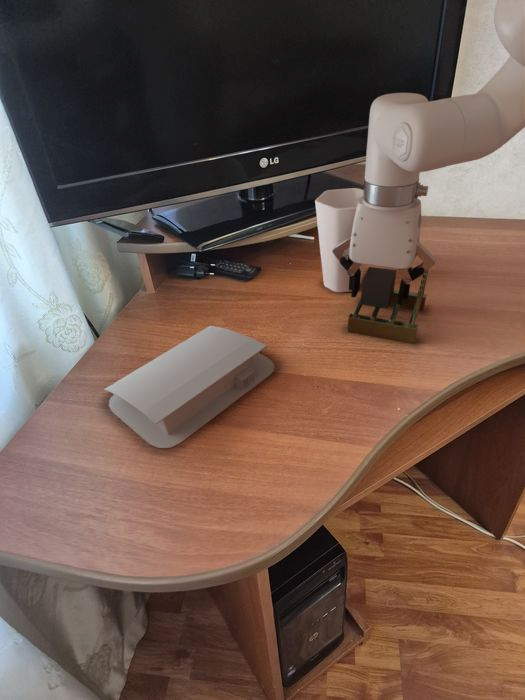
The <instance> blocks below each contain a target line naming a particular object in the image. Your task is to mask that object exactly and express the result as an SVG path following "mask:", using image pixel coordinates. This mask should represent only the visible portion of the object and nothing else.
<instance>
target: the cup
mask: <svg viewBox="0 0 525 700" xmlns="http://www.w3.org/2000/svg"><path fill="white" fill-rule="evenodd" d="M363 191H364V189H362V188H359V187H352V188H350V187H349V188H348V187H347V188H337V189H328V190H324V191H323V192H322V193H321V194H320V195H319V196H318V197H317V198H316V199H315V200H314V203H315V214H316V223H317V233H318V242H319V243H318V244H319V253H320V261H321V270H322V271H321V273H322V282H323V286H324V287H325V288H327V289H328V290H330V291H332V292H334V293H347V292H348V293H349V292H352V290H349V275H348V274H347V271H346V270H345V268H344V267H343V266H342V265H341V264H340V261H339V260H338V259H337V258H336V256H335V255H334V254H333V252H332V250H333V249H334V247H335V246H336V245H338V244H339V243H341V242H342V241H344V240H345V239H347V238H349V237H350V236H351V234H352V228H353V222H354V217H355V212H356V208H357V204H358V201H359V199H360V197H361V196H363ZM344 251H345V253H346V255H348V256H349V251H350V247H349V248H348V249H346V250H344ZM349 257H350V256H349ZM353 262H354V261H353ZM365 266H366V265H365V264H361V266H360V267H359V269H360V271H361V278H360V285H362V280H363V277H364V276H363V275H364V271H365Z"/></svg>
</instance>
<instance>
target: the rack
mask: <svg viewBox="0 0 525 700" xmlns="http://www.w3.org/2000/svg"><path fill="white" fill-rule="evenodd" d="M428 274H429V270H428V271H426V272H424V273H423V275H422V278H421V280H420V284H419V287H418V290H417V292H415V291H414V292H413V291H409V295H408V299H405V298H404V299H403V302H402V305H398V304H397V301H398V294H399V289H394V294H393V297H392V299H391V302H390V305H389V307H388V308H393V310H392V313H391V315H390V318H389V319H387V318H386V319H385V318H381V317H378V315H379V314H378V313H379V312H380V309H381V307H374V309H373V311H372V314H371V315H370V316H368V315H364V314H363V315H362V314H359V313H360V312H361V309H362V307H363V305H361V304H360V303H361V297H360V298H359V300H358V302H357V305H356V307H355V308H354V310H353V312H352V313H349V315H348V317H347V318H348V319H347V333H353V334H359V335H364V336H369V337H375V338H381V339H386V340H390V341H396V342H402V343H406V344H407V343H408V344H412V345H415V343H416V340H417V336H418V335H417V334H418V329H419V325H418V324H416V319H418V316H419V313H424V310H425V305H426V301H427V294H426V293H425V290H426V284H427V279H428ZM400 309H402V310H408V311H412V312H411V315H410V319H409V322H408V323H407V322H404V321H397V319H396V318H397V316H398V313H399V312H400V311H399V310H400Z"/></svg>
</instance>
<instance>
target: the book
mask: <svg viewBox="0 0 525 700" xmlns="http://www.w3.org/2000/svg"><path fill="white" fill-rule="evenodd" d="M267 347H268V345H267V344H265V343H263V342H262V341H259V340H257V339H255V338H252V337H250V336H248V335H245V334H242V333H240V332H238V331H234V330H232V329H229V328H225V327H221V326H214V325H209V326H207V327H205V328H204V329H202V330H200V331H199V332H197V333H195V334H194V335H191V336H190V337H188V338H187V339H185V340H184V341H182V342H180V343H178V344H177V345H175V346H174V347H172V348H170V349H169V350H167V351H165V352H163V353H162V354H160V355H158V356H157V357H155V358H153V359H152V360H150V361H148V362H147V363H145V364H143V365H142V366H140V367H138V368H137V369H135V370H134V371H132V372H130V373H129V374H127V375H125V376H123V377H122V378H120V379H119V380H117V381H115V382H113V383H112V384H110V385H108V386H107V387H105V388H104V391H105V392H109V393H111V394H112V396H111V397H110V398H109V402H108V404H107V405H108V408H109V409H110V411H111V412H112V413H113V414H114V415H115V416H116V417H117V418H118V419H119V420H121V421H122V422H123V423H125V425H126V426H128V427H129V429H130V430H132V431H133V432H135V433H136V434H137V435H138V436H139V437H140V438H141V439H143V440H144V441H145V442H146V443H147V444H149V445H151V446H152V447H154V448H156V449H171V448H173V447H175V446H178V445H180V444H182V442H184V441H185V440H186V439H187V438H189V437H190V436H192V435H193V434H195V432H197V431H198V430H200V429H202V427H204V426H205V425H206V424H207V423H209V422H210V421H211V420H213V419H214V418H216V416H218V415H219V414H221V413H222V412H223V411H225V410H226V409H227V408H228V407H230V406H232V405H233V404H234V403H235V402H236V401H237V400H239V399H240V398H242V397H243V396H244V395H246V394H247V393H249V392H250V391H251V390H253V389H254V388H255V387H256V386H258V385H259V384H260V383H261V382H263V381H264V380H265V379H266V378H268V377H269V376H271V374H272V373H273V372H274V370H275V365H274V361H272V359H270V358H269V357H268V356H265V355H263V354H261V353H260V352H262V351H264V350H265V349H266V348H267Z"/></svg>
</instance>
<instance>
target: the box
mask: <svg viewBox="0 0 525 700" xmlns="http://www.w3.org/2000/svg"><path fill="white" fill-rule="evenodd" d="M396 279H397V269H392V268H384V267H375V266H369V267H368V268H367V270H366V272H365V274H364V276H363V277H362V280H361V289H360V298H361V303H360V304H361V305H362V306H367V307H368V306H369V307H373V308H375V307H380V309H389V308H390V307H389V305H390V302H391V299H392V297H393V294H394V290H395V286H396Z"/></svg>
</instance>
